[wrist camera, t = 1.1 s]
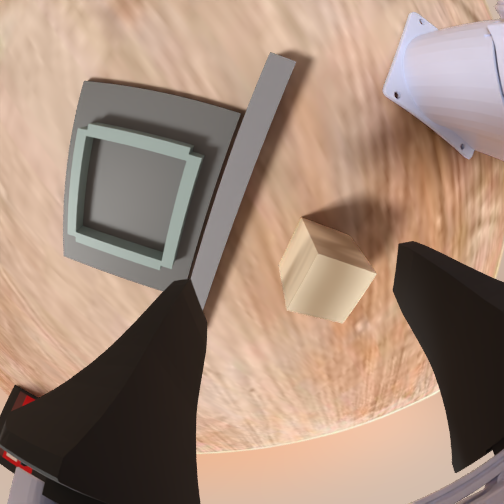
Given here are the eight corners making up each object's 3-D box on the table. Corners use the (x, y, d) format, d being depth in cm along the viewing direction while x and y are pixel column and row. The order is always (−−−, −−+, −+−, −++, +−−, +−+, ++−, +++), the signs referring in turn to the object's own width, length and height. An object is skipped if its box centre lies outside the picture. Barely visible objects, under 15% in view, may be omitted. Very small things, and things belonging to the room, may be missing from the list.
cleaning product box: (73, 414, 36) (49, 494, 19) (84, 429, 41) (65, 500, 23) (15, 384, 34) (-14, 452, 17) (29, 403, 39) (5, 465, 21)
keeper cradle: (241, 113, 15) (240, 113, 13) (183, 294, 21) (179, 306, 20) (87, 81, 13) (75, 80, 11) (66, 253, 19) (57, 262, 18)
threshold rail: (292, 66, 13) (296, 61, 12) (193, 332, 23) (191, 344, 22) (268, 57, 13) (270, 52, 11) (177, 327, 23) (174, 340, 21)
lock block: (349, 235, 19) (376, 273, 14) (325, 278, 20) (342, 323, 16) (301, 216, 18) (318, 253, 14) (278, 264, 20) (286, 310, 15)
